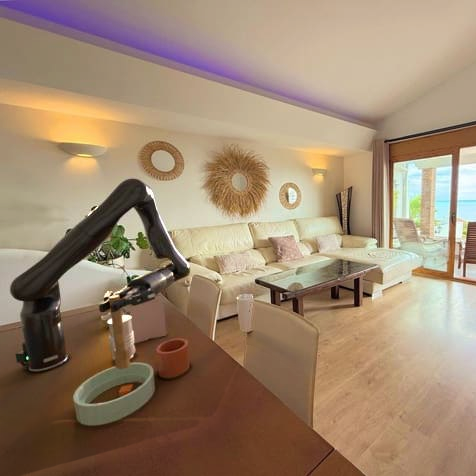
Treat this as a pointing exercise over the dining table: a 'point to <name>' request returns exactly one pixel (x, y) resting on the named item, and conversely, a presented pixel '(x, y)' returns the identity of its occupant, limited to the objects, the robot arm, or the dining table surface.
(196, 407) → the dining table surface
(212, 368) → the dining table surface
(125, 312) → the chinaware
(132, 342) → the candle
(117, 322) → the stirring stick
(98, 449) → the dining table surface
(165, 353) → the crock
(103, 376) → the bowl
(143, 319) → the greeting card
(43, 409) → the dining table surface
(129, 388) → the carrot chunk
